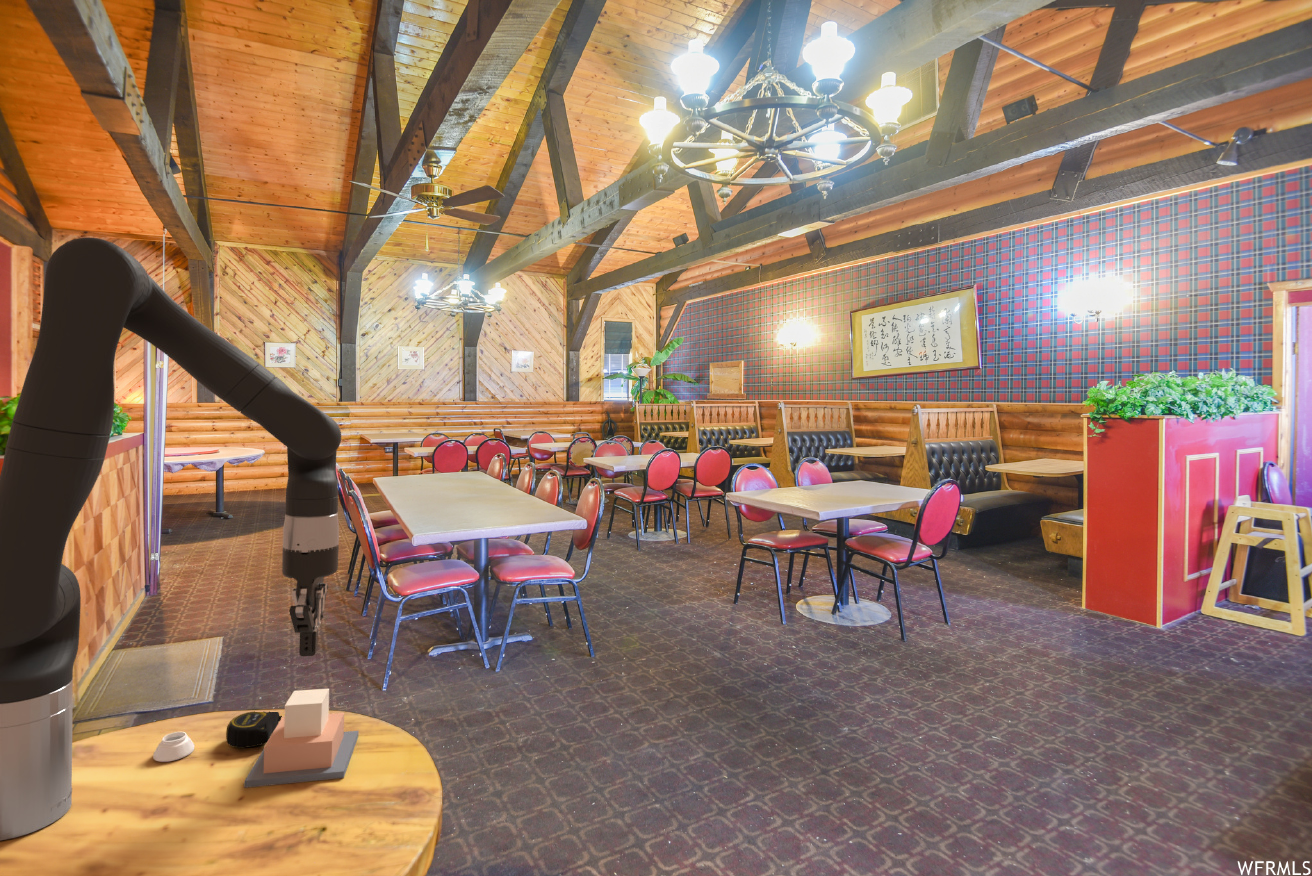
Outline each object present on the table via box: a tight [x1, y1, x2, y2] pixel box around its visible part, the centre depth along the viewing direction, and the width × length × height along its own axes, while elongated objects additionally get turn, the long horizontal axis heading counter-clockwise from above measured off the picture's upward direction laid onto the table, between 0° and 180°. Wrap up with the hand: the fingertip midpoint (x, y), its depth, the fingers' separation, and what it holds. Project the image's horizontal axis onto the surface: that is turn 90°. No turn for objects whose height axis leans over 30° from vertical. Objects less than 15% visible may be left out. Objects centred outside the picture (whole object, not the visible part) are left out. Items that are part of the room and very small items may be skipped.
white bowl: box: [152, 731, 195, 763], centre depth 98 cm, size 5×3×5 cm
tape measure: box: [225, 710, 283, 749], centre depth 103 cm, size 7×7×4 cm
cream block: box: [284, 688, 330, 738], centre depth 98 cm, size 5×5×5 cm
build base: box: [243, 712, 359, 788], centre depth 98 cm, size 13×12×5 cm
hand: (308, 654), depth 97 cm, fingers closed
